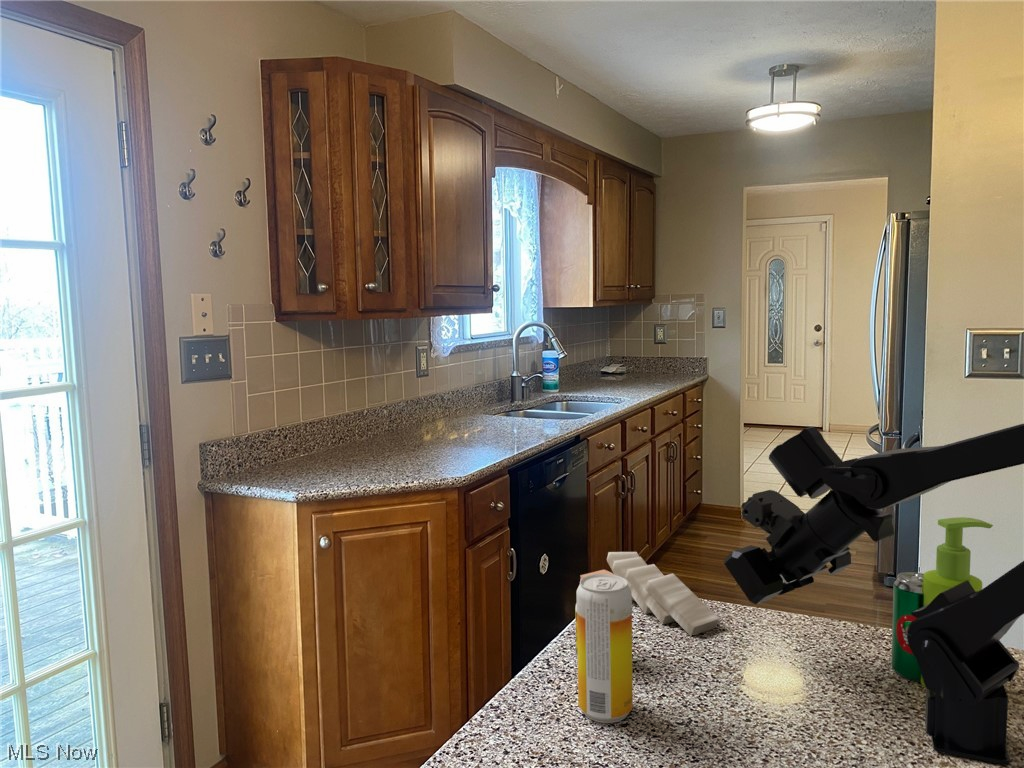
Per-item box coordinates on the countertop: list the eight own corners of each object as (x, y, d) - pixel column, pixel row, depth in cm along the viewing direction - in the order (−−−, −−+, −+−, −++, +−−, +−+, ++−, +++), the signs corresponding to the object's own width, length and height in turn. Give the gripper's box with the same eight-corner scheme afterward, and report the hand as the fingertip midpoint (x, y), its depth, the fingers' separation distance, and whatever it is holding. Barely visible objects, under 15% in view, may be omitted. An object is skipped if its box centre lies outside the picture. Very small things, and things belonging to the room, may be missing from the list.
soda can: (915, 661, 94) (917, 568, 93) (948, 680, 89) (951, 582, 88) (881, 667, 93) (884, 573, 92) (913, 686, 88) (916, 587, 87)
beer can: (635, 700, 86) (634, 574, 85) (629, 728, 81) (627, 594, 79) (583, 694, 88) (581, 570, 87) (574, 721, 82) (571, 589, 81)
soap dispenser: (998, 697, 85) (1006, 525, 83) (939, 700, 85) (945, 528, 83) (965, 672, 91) (971, 511, 89) (909, 675, 91) (914, 513, 89)
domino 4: (692, 609, 108) (654, 563, 116) (665, 616, 106) (627, 569, 114) (689, 617, 109) (651, 571, 117) (662, 624, 107) (625, 577, 115)
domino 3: (675, 600, 112) (640, 556, 120) (647, 606, 110) (614, 560, 118) (672, 608, 113) (638, 564, 120) (645, 614, 110) (611, 568, 118)
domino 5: (719, 618, 105) (672, 573, 112) (693, 627, 102) (647, 580, 110) (716, 627, 106) (670, 581, 113) (690, 636, 103) (645, 588, 110)
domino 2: (660, 591, 115) (636, 551, 124) (630, 592, 114) (608, 552, 123) (658, 599, 116) (634, 559, 125) (628, 600, 115) (606, 560, 124)
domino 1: (643, 587, 118) (604, 569, 127) (619, 593, 116) (580, 575, 124) (643, 596, 119) (604, 578, 127) (619, 603, 116) (580, 584, 125)
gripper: (828, 463, 97) (758, 530, 107) (735, 485, 86) (667, 557, 96) (888, 535, 91) (808, 598, 101) (797, 568, 81) (717, 635, 90)
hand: (750, 594), depth 97 cm, fingers closed
